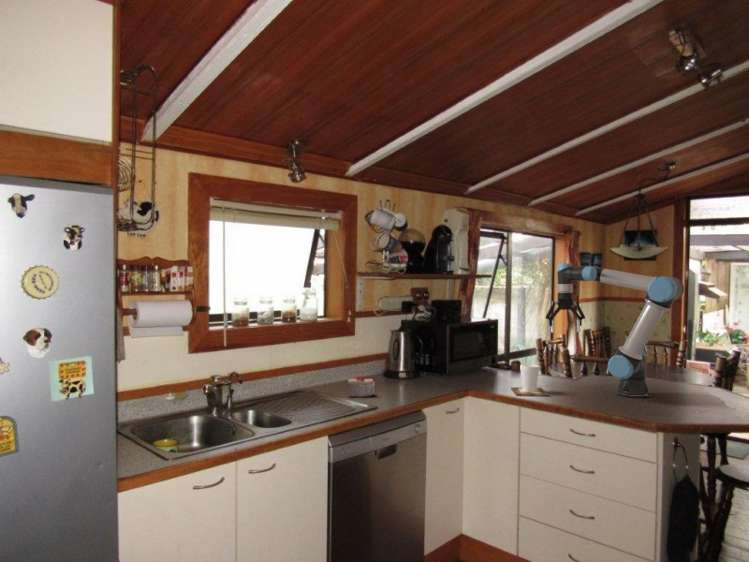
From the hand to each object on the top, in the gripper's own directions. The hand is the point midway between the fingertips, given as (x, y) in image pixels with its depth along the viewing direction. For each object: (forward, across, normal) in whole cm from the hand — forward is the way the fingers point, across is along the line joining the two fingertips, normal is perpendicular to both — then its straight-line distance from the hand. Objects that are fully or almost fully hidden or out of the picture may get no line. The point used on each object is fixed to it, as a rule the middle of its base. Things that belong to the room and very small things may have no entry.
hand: (565, 332), depth 286 cm
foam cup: (+29, +21, +8) cm, 37 cm away
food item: (+30, +108, +19) cm, 114 cm away
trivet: (+30, +21, +8) cm, 38 cm away
